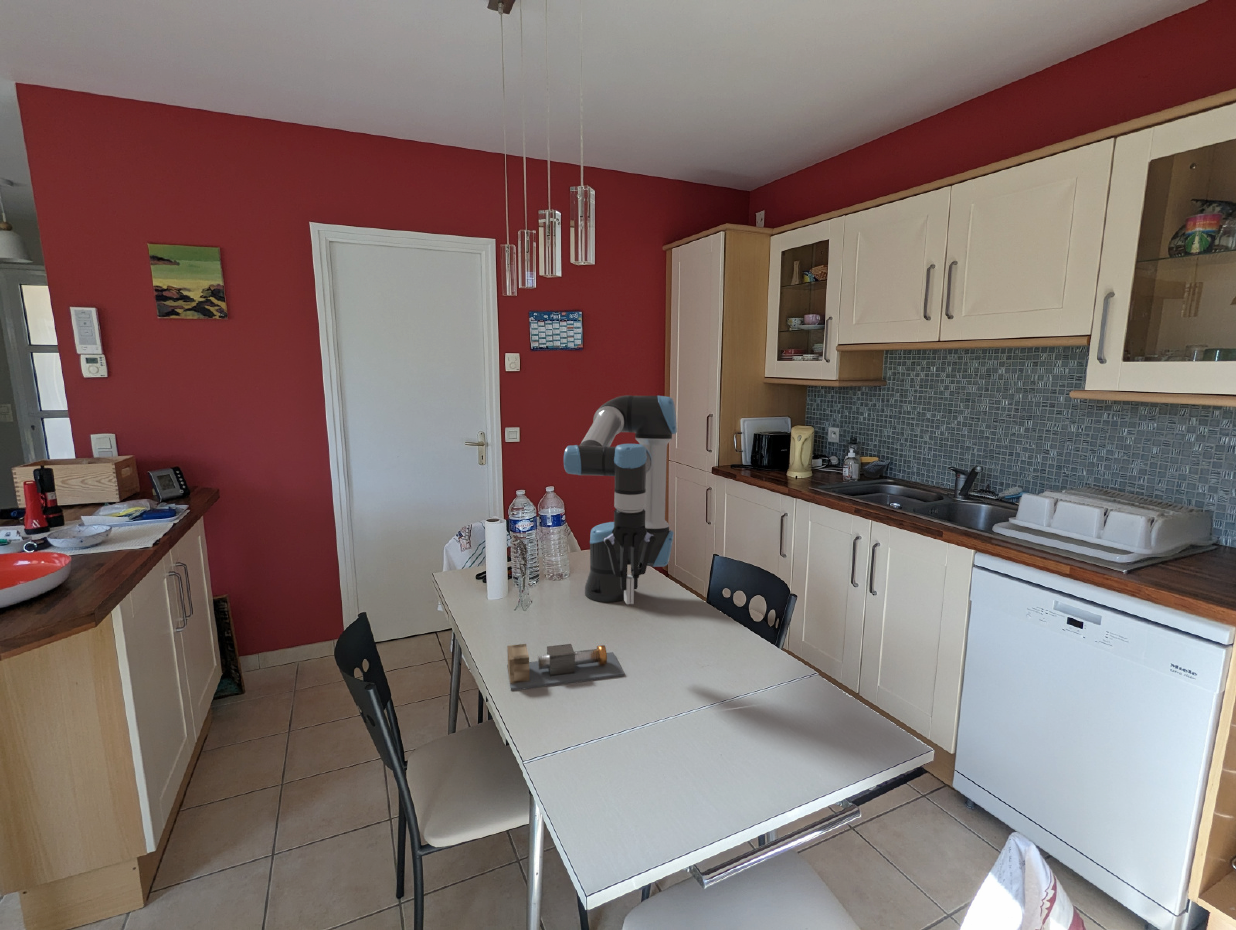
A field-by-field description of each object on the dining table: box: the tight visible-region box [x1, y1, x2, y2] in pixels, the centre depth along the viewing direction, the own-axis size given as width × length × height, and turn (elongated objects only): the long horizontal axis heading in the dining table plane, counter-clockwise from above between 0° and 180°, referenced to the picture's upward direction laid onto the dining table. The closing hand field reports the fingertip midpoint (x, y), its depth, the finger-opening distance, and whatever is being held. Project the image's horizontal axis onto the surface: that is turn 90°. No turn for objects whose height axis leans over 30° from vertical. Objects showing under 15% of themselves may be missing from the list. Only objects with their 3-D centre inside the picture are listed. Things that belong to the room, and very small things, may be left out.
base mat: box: [506, 651, 625, 691], centre depth 143 cm, size 27×11×1 cm, turn 105°
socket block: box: [506, 643, 530, 685], centre depth 140 cm, size 4×7×6 cm, turn 15°
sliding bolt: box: [537, 644, 608, 670], centre depth 143 cm, size 16×5×5 cm, turn 105°
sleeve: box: [546, 643, 575, 677], centre depth 143 cm, size 6×5×5 cm
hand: (628, 601), depth 145 cm, fingers closed
